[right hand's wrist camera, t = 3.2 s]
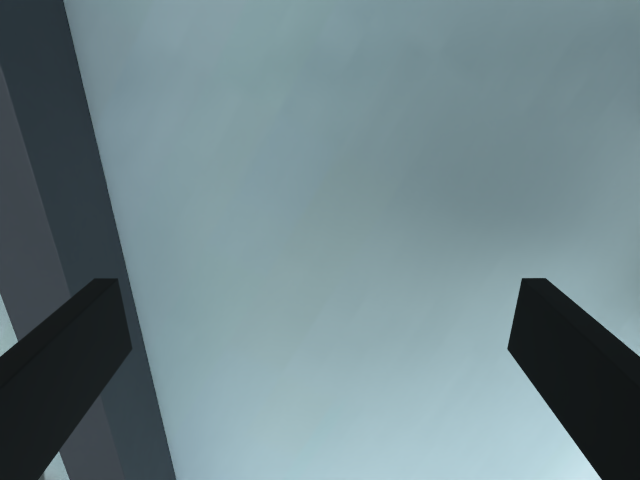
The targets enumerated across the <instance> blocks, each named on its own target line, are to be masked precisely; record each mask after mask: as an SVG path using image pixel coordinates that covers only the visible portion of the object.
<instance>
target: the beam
mask: <svg viewBox="0 0 640 480" xmlns="http://www.w3.org/2000/svg"><path fill="white" fill-rule="evenodd" d="M94 278H118V281H119V286H120V291H121V295H122V300H123V305H124V310H125V315H126V319H127V324H128V329H129V334H130V339H131V343H132V348H133V349H132V351H131V352H130V353H129V355H128V356H127V357H126V359H125V360H124V362H123V363H122V364H121V366H120V367H119V369H118V370H117V371H116V373H115V374H114V375H113V377H112V378H111V380H110V381H109V382H108V384H107V385H106V386H105V388H104V389H103V391H102V392H101V393H100V395H99V396H98V398H97V399H96V400H95V402H94V403H93V404H92V406H91V407H90V409H89V410H88V411H87V413H86V414H85V416H84V417H83V418H82V420H81V421H80V422H79V424H78V425H77V427H76V428H75V429H74V431H73V432H72V433H71V435H70V436H69V438H68V439H67V440H66V442H65V443H64V445H63V446H62V447H61V449H60V450H59V452H60V455H61V457H62V460H63V463H64V465H65V468H66V471H67V473H68V476H69V479H70V480H176V478H175V474H174V469H173V465H172V461H171V457H170V453H169V448H168V444H167V440H166V436H165V431H164V427H163V423H162V419H161V414H160V410H159V406H158V402H157V398H156V393H155V389H154V385H153V381H152V376H151V372H150V368H149V364H148V359H147V355H146V351H145V347H144V343H143V338H142V334H141V330H140V326H139V321H138V317H137V313H136V309H135V304H134V300H133V296H132V292H131V288H130V283H129V279H128V275H127V271H126V266H125V262H124V258H123V254H122V249H121V245H120V241H119V237H118V233H117V228H116V224H115V220H114V216H113V211H112V207H111V203H110V199H109V194H108V190H107V186H106V182H105V178H104V173H103V169H102V165H101V161H100V156H99V152H98V148H97V144H96V139H95V135H94V131H93V127H92V123H91V118H90V114H89V110H88V106H87V101H86V97H85V93H84V89H83V84H82V80H81V76H80V72H79V68H78V63H77V59H76V55H75V51H74V46H73V42H72V38H71V34H70V29H69V25H68V21H67V17H66V13H65V8H64V4H63V0H0V294H1V297H2V299H3V302H4V305H5V307H6V310H7V313H8V315H9V318H10V321H11V323H12V326H13V329H14V331H15V334H16V337H17V339H18V342H19V341H20V340H21V339H22V338H23V337H25V336H26V335H27V334H28V333H29V332H31V331H32V330H33V329H34V328H35V327H37V326H38V325H39V324H40V323H41V322H43V321H44V320H45V319H46V318H47V317H49V316H50V315H51V314H52V313H53V312H55V311H56V310H57V309H58V308H59V307H61V306H62V305H63V304H64V303H65V302H67V301H68V300H69V299H70V298H71V297H73V296H74V295H75V294H76V293H77V292H79V291H80V290H81V289H82V288H83V287H85V286H86V285H87V284H88V283H89V282H91V281H92V280H93V279H94Z"/></svg>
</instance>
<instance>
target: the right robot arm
mask: <svg viewBox="0 0 640 480" xmlns="http://www.w3.org/2000/svg"><path fill="white" fill-rule="evenodd" d="M132 349H133V348H132V343H131V339H130V334H129V329H128V324H127V319H126V315H125V310H124V305H123V300H122V295H121V291H120V286H119V281H118V278H94V279H93V280H92V281H91V282H89V283H88V284H87V285H86V286H85V287H83V288H82V289H81V290H80V291H79V292H77V293H76V294H75V295H74V296H73V297H71V298H70V299H69V300H68V301H67V302H65V303H64V304H63V305H62V306H61V307H59V308H58V309H57V310H56V311H55V312H53V313H52V314H51V315H50V316H49V317H47V318H46V319H45V320H44V321H43V322H41V323H40V324H39V325H38V326H37V327H35V328H34V329H33V330H32V331H31V332H29V333H28V334H27V335H26V336H25V337H23V338H22V339H21V340H20V341H19V342H17V343H16V344H15V345H14V346H13V347H11V348H10V349H9V350H8V351H7V352H5V353H4V354H3V355H2V356H1V357H0V480H38V479H39V478H40V476H41V475H42V474H43V472H44V471H45V469H46V468H47V467H48V465H49V464H50V463H51V461H52V460H53V458H54V457H55V456H56V454H57V453H58V451H59V450H60V449H61V447H62V446H63V445H64V443H65V442H66V440H67V439H68V438H69V436H70V435H71V433H72V432H73V431H74V429H75V428H76V427H77V425H78V424H79V422H80V421H81V420H82V418H83V417H84V416H85V414H86V413H87V411H88V410H89V409H90V407H91V406H92V404H93V403H94V402H95V400H96V399H97V398H98V396H99V395H100V393H101V392H102V391H103V389H104V388H105V386H106V385H107V384H108V382H109V381H110V380H111V378H112V377H113V375H114V374H115V373H116V371H117V370H118V369H119V367H120V366H121V364H122V363H123V362H124V360H125V359H126V357H127V356H128V355H129V353H130V352H131V351H132ZM507 349H508V351H509V352H510V353H511V355H512V356H513V357H514V359H515V360H516V362H517V363H518V364H519V366H520V367H521V369H522V370H523V371H524V373H525V374H526V375H527V377H528V378H529V380H530V381H531V382H532V384H533V385H534V386H535V388H536V389H537V391H538V392H539V393H540V395H541V396H542V398H543V399H544V400H545V402H546V403H547V404H548V406H549V407H550V409H551V410H552V411H553V413H554V414H555V416H556V417H557V418H558V420H559V421H560V422H561V424H562V425H563V427H564V428H565V429H566V431H567V432H568V434H569V435H570V436H571V438H572V439H573V440H574V442H575V443H576V445H577V446H578V447H579V449H580V450H581V451H582V453H583V454H584V456H585V457H586V458H587V460H588V461H589V463H590V464H591V465H592V467H593V468H594V469H595V471H596V472H597V474H598V475H599V476H600V478H601V479H602V480H640V357H639V356H638V355H637V354H636V353H635V352H633V351H632V350H631V349H630V348H629V347H627V346H626V345H625V344H624V343H623V342H621V341H620V340H619V339H618V338H617V337H615V336H614V335H613V334H612V333H611V332H609V331H608V330H607V329H606V328H605V327H603V326H602V325H601V324H600V323H599V322H597V321H596V320H595V319H594V318H593V317H591V316H590V315H589V314H588V313H587V312H585V311H584V310H583V309H582V308H581V307H579V306H578V305H577V304H576V303H575V302H573V301H572V300H571V299H570V298H569V297H567V296H566V295H565V294H564V293H563V292H561V291H560V290H559V289H558V288H557V287H555V286H554V285H553V284H552V283H551V282H549V281H548V280H547V279H546V278H522V281H521V286H520V291H519V295H518V300H517V305H516V310H515V315H514V319H513V324H512V329H511V334H510V339H509V343H508V348H507Z"/></svg>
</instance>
